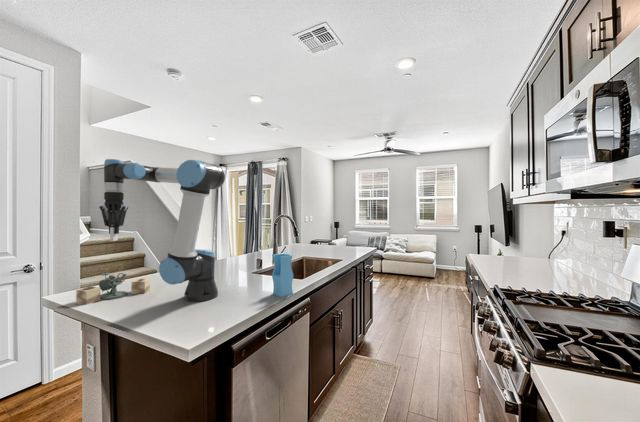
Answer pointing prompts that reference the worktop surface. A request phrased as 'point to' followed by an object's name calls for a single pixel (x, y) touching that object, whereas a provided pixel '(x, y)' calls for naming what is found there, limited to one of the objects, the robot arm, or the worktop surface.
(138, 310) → the worktop surface
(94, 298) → the marked cube
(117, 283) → the figurine
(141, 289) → the marked cube
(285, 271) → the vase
